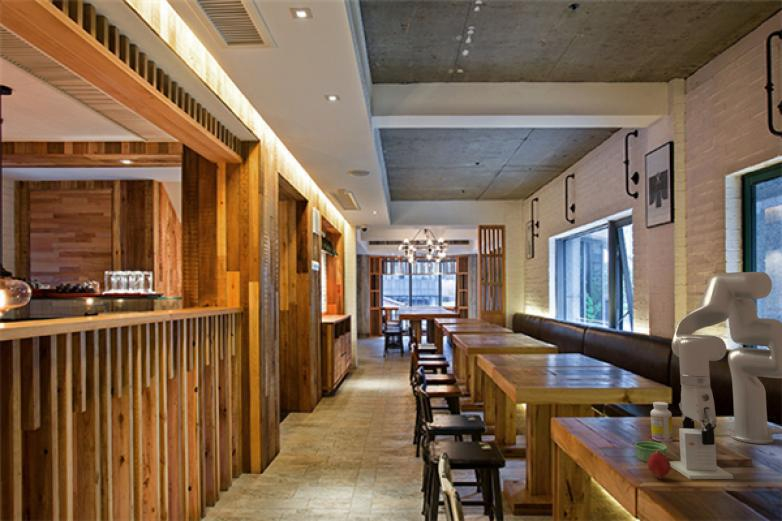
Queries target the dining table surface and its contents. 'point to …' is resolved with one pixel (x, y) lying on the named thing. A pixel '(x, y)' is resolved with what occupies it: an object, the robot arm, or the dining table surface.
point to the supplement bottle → (661, 422)
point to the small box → (696, 451)
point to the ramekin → (648, 449)
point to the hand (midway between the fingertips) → (698, 439)
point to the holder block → (723, 455)
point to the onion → (658, 464)
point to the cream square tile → (700, 472)
